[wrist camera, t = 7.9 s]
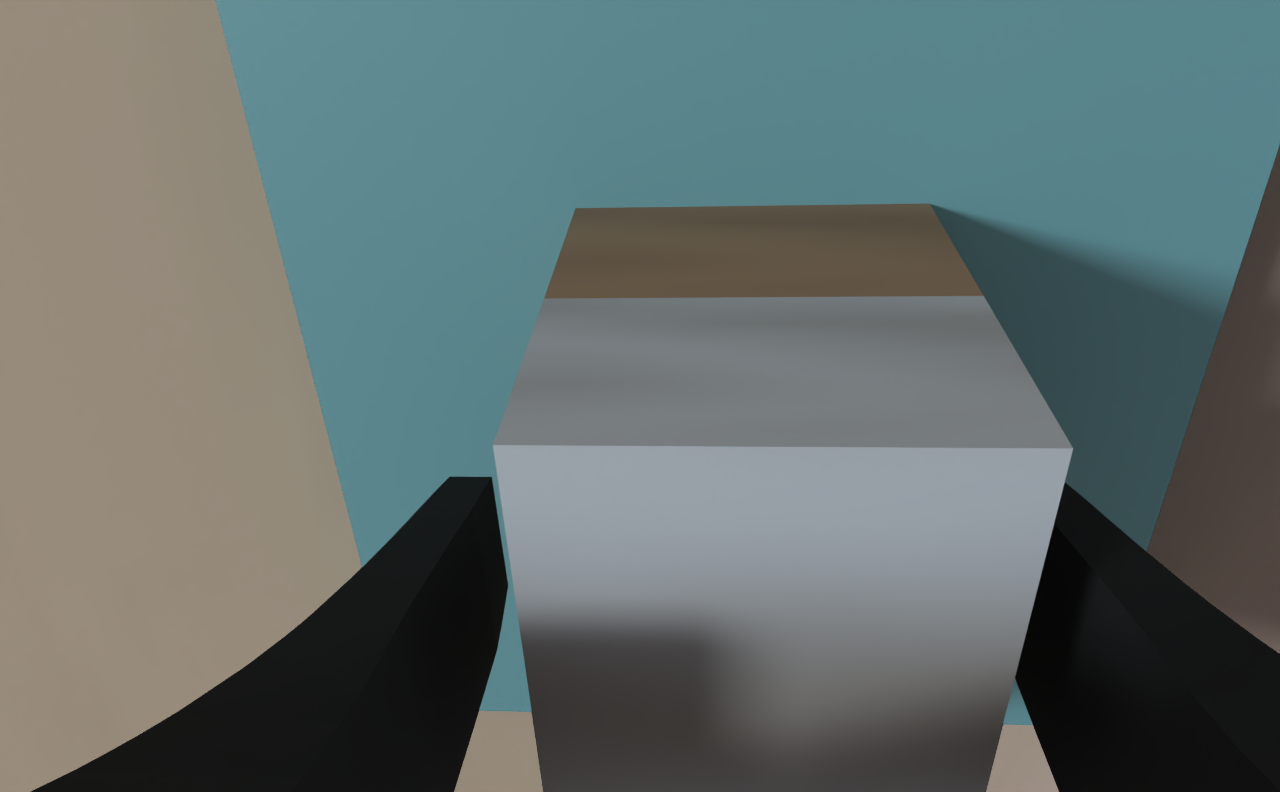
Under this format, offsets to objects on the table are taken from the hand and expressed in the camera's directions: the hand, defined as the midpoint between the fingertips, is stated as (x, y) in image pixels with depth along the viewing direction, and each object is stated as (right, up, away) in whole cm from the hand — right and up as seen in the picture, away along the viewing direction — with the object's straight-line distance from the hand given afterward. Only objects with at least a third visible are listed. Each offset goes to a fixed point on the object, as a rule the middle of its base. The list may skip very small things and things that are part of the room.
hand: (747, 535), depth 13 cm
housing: (0, +1, +2) cm, 3 cm away
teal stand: (0, +2, +4) cm, 5 cm away
